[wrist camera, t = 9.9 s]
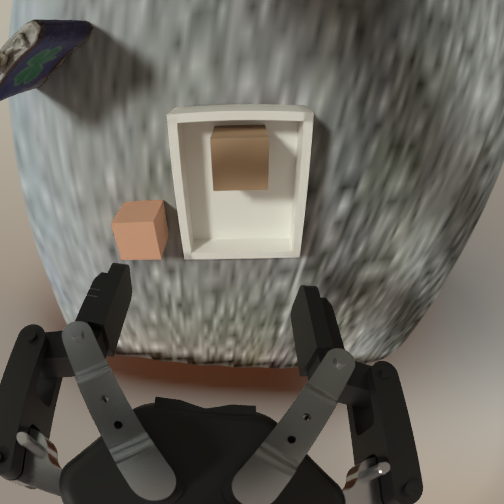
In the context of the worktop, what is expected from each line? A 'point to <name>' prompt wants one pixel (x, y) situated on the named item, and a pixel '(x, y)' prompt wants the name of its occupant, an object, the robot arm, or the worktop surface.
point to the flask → (38, 53)
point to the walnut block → (240, 157)
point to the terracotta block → (141, 230)
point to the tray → (241, 201)
